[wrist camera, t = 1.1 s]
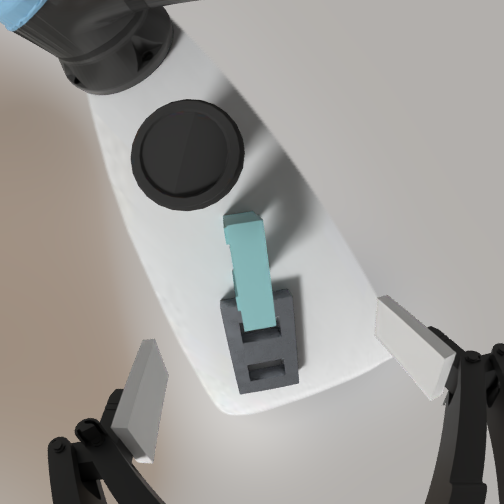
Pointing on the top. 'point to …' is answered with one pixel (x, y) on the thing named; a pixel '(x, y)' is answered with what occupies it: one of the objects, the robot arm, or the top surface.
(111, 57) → the robot arm
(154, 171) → the coffee cup
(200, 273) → the top surface
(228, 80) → the top surface
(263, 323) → the teal u-shaped block
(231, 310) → the grey slotted slab
